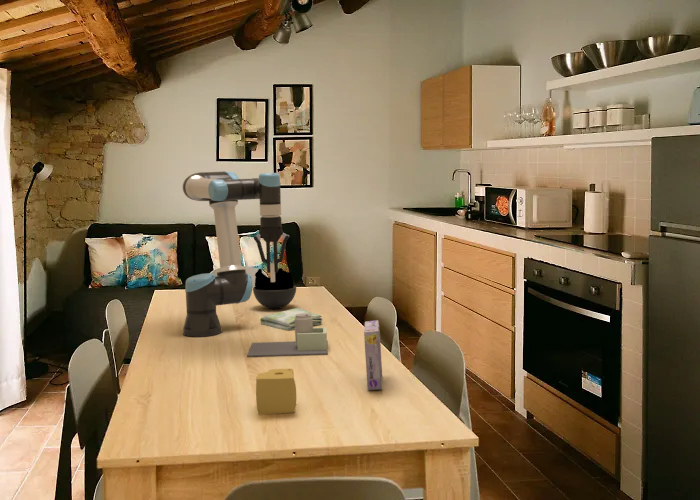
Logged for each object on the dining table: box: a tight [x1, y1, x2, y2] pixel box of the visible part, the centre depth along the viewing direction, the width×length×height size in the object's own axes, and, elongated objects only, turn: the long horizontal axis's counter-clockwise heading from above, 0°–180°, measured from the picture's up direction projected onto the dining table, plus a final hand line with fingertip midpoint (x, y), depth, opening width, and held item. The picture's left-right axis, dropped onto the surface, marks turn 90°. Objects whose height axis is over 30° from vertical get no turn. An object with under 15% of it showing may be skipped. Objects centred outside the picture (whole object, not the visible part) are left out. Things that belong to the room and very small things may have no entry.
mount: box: [246, 326, 329, 358], centre depth 287 cm, size 20×28×7 cm
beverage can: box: [294, 313, 314, 346], centre depth 287 cm, size 6×6×12 cm
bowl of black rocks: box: [252, 267, 297, 310], centre depth 369 cm, size 20×20×19 cm
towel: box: [259, 307, 323, 331], centre depth 333 cm, size 18×21×5 cm
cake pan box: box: [363, 319, 383, 391], centre depth 241 cm, size 19×5×18 cm, turn 178°
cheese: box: [255, 368, 297, 416], centre depth 218 cm, size 10×11×10 cm
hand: (273, 281), depth 288 cm, fingers closed
